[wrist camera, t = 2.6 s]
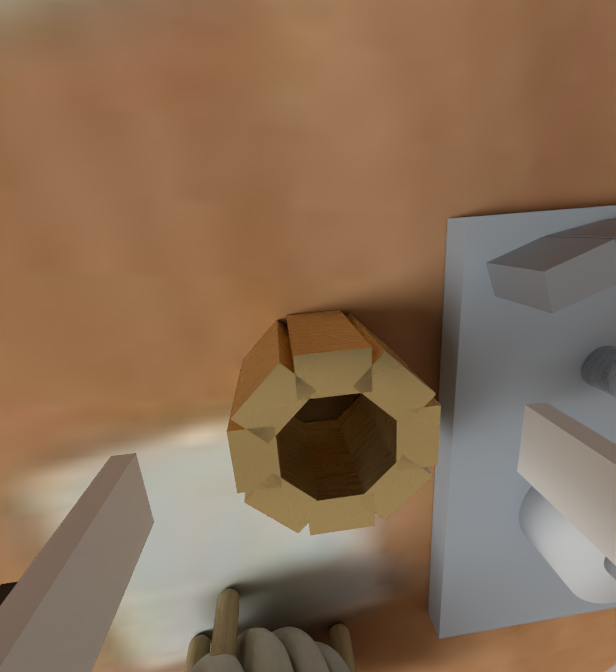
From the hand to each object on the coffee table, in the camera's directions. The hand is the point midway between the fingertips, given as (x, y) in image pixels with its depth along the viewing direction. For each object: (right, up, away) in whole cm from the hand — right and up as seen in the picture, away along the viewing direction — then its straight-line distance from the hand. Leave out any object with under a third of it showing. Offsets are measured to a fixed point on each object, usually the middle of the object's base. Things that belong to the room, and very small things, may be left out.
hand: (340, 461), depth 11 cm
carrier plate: (+13, -1, +7) cm, 15 cm away
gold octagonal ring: (-1, +2, +5) cm, 5 cm away
